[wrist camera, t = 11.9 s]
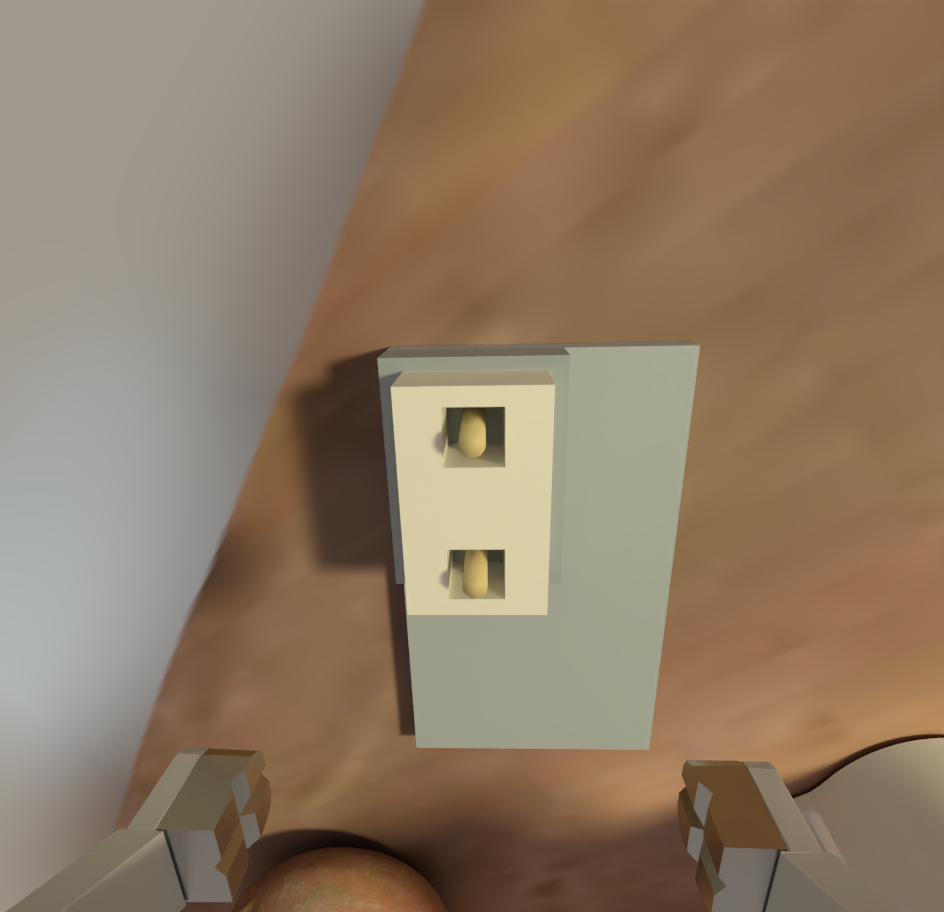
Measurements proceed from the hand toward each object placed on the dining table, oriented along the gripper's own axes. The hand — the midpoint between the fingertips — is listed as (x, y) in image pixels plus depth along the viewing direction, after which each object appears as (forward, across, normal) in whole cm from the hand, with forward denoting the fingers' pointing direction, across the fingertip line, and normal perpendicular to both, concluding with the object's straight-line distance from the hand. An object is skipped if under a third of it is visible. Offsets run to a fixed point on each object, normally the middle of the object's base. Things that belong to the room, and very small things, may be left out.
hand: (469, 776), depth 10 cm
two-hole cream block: (+14, 0, 0) cm, 15 cm away
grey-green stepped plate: (+18, -2, +6) cm, 19 cm away
